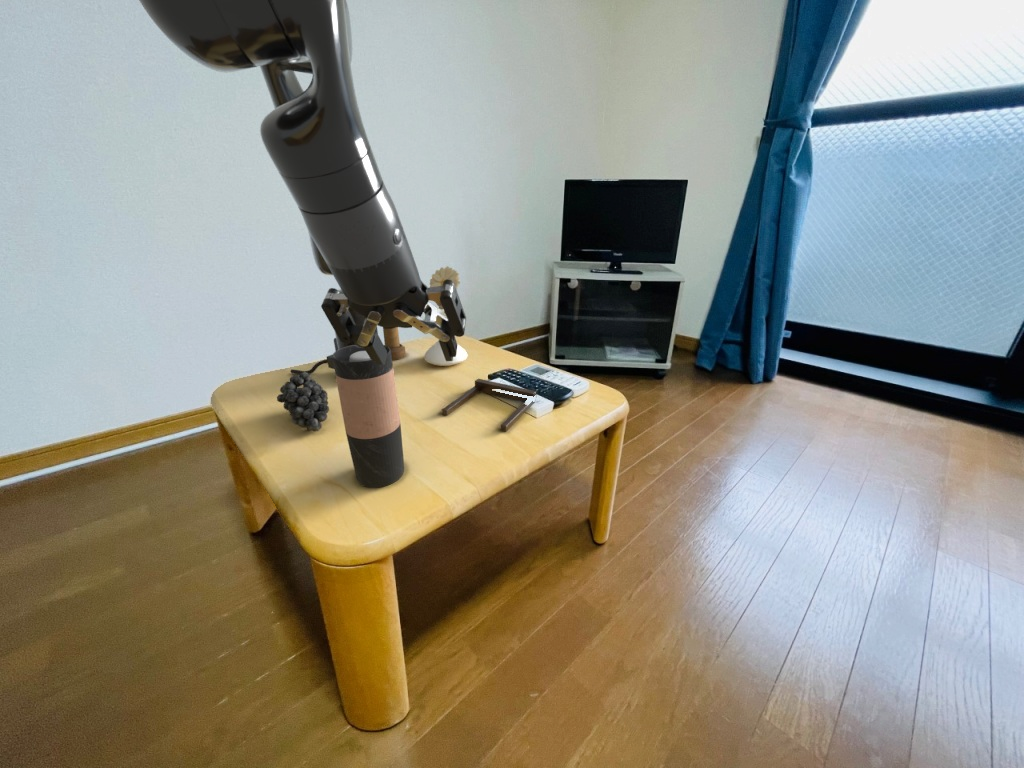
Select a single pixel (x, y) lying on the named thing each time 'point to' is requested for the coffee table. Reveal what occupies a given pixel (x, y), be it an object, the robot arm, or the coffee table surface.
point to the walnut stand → (487, 388)
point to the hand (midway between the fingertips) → (416, 357)
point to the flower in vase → (435, 352)
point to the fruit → (305, 401)
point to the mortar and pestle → (394, 343)
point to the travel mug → (370, 415)
